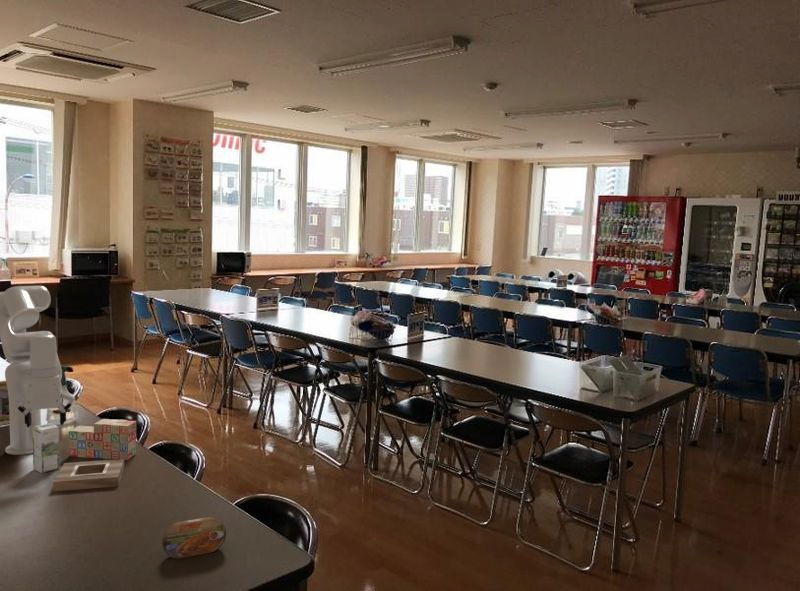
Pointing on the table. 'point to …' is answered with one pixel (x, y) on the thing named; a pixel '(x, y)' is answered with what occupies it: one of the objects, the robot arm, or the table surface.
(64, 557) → the table surface
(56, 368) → the robot arm
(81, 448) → the stack of blocks
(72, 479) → the socket board
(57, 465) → the syrup box
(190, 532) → the tin
